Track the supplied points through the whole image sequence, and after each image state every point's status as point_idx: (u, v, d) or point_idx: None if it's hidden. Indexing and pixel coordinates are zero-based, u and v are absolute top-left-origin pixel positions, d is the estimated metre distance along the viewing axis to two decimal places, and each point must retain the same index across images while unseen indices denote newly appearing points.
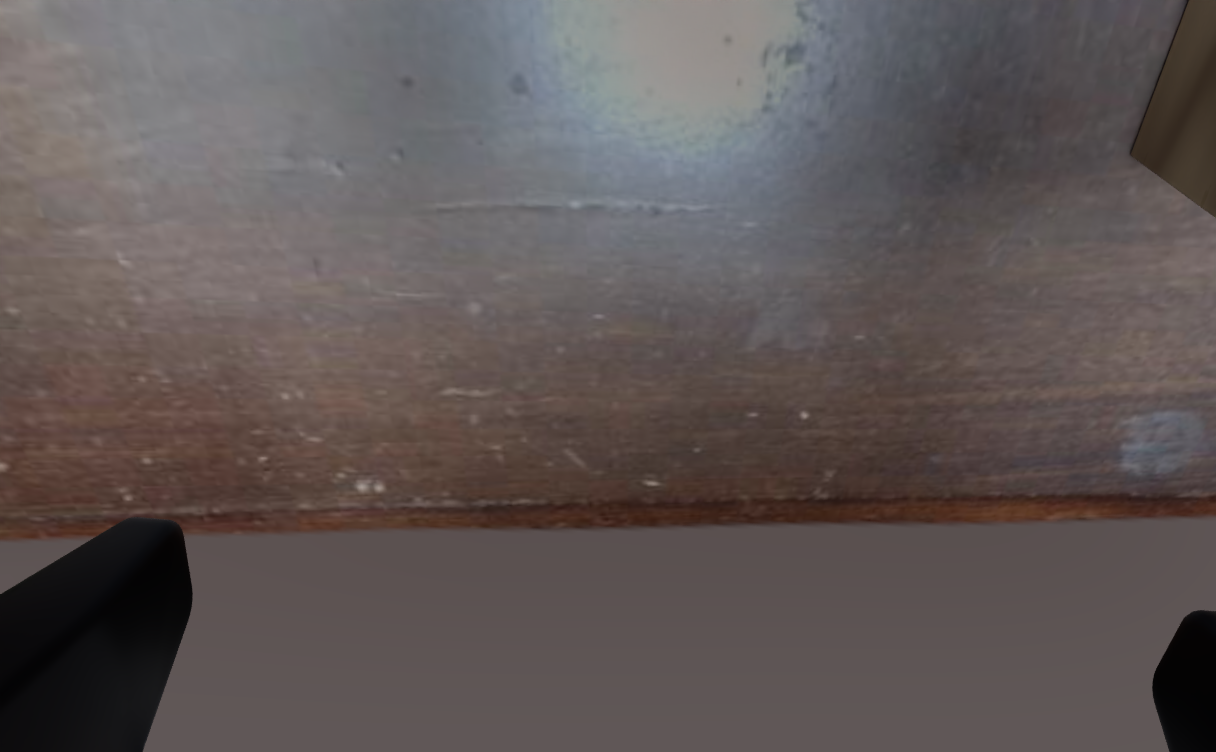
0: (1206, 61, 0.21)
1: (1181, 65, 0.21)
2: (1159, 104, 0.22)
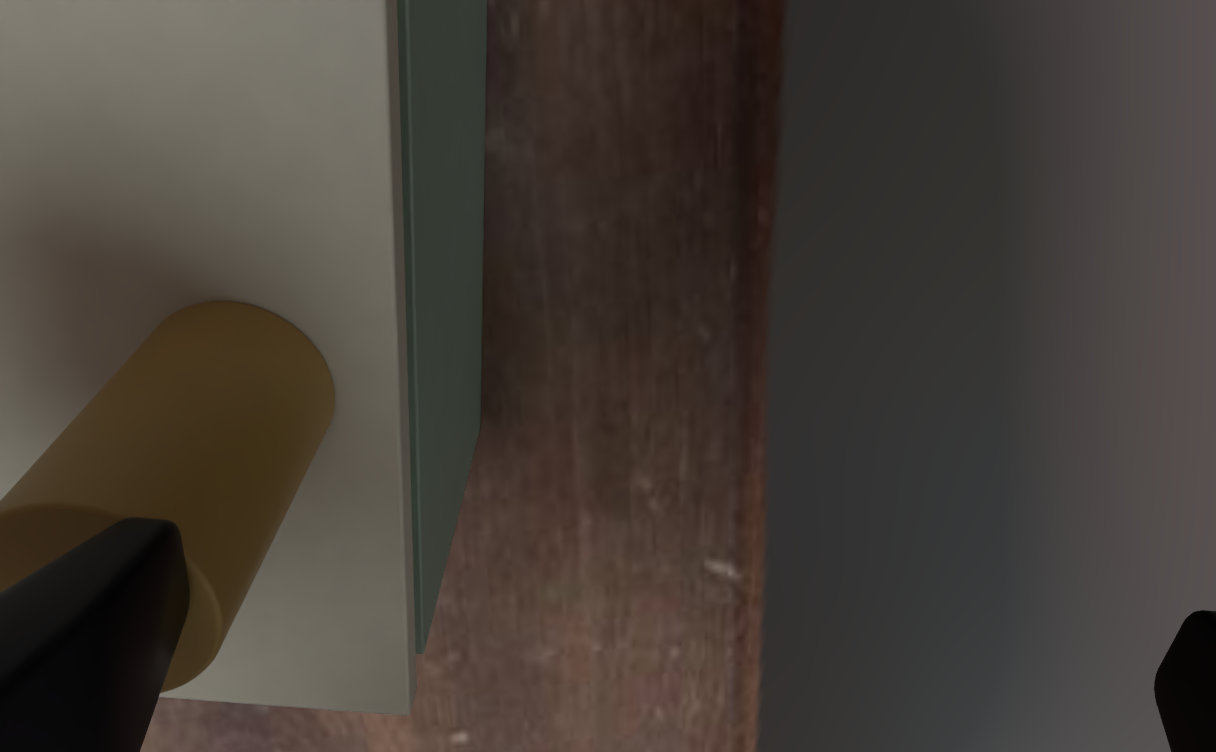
0: None
1: None
2: None
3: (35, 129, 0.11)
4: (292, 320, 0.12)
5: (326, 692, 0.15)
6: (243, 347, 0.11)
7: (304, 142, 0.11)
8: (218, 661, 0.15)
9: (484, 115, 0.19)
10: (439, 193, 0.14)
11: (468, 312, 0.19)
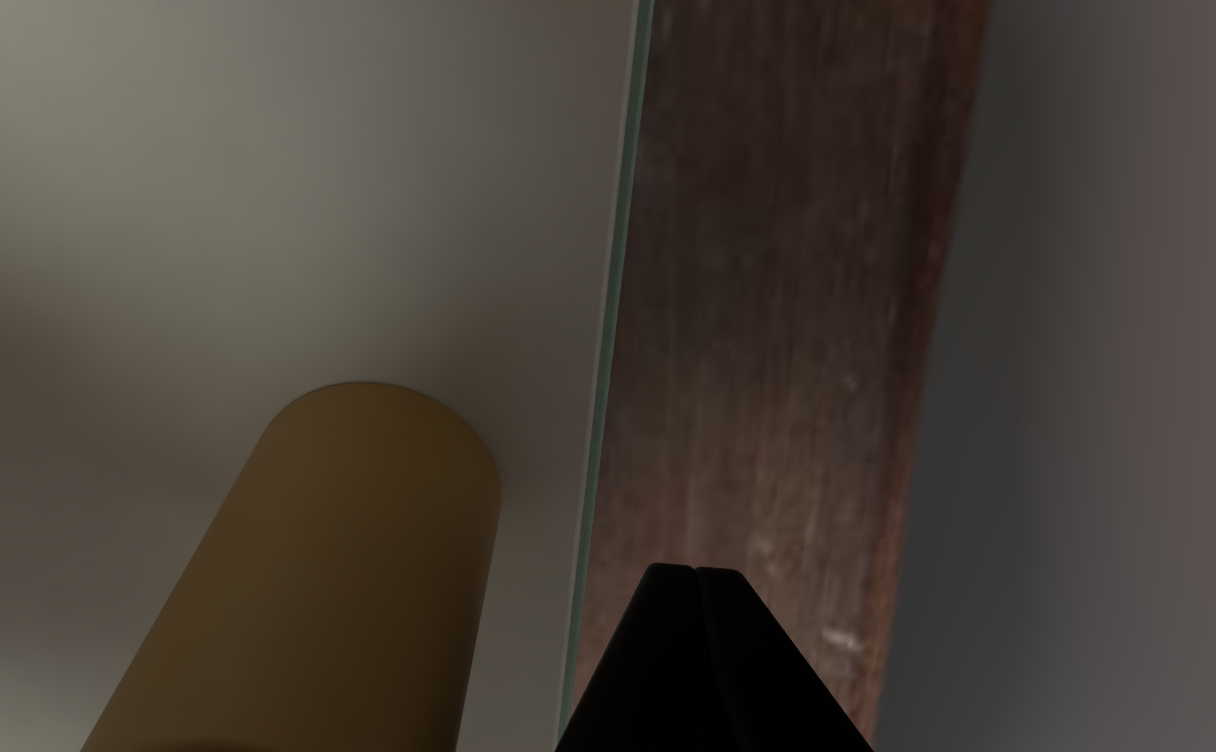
0: None
1: None
2: None
3: (135, 156, 0.08)
4: (456, 407, 0.09)
5: None
6: (408, 453, 0.08)
7: (502, 181, 0.08)
8: None
9: None
10: None
11: None
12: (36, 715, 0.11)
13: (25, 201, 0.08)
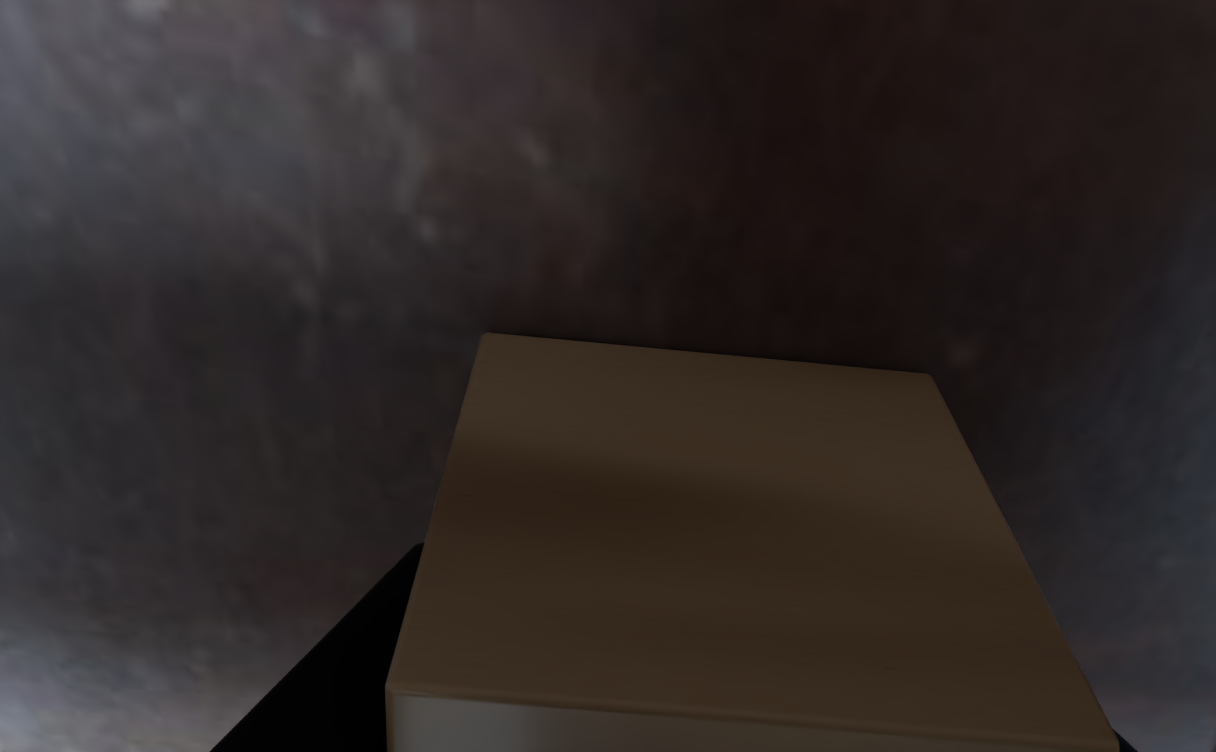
0: None
1: None
2: None
3: None
4: None
5: None
6: None
7: None
8: None
9: None
10: None
11: None
12: None
13: None
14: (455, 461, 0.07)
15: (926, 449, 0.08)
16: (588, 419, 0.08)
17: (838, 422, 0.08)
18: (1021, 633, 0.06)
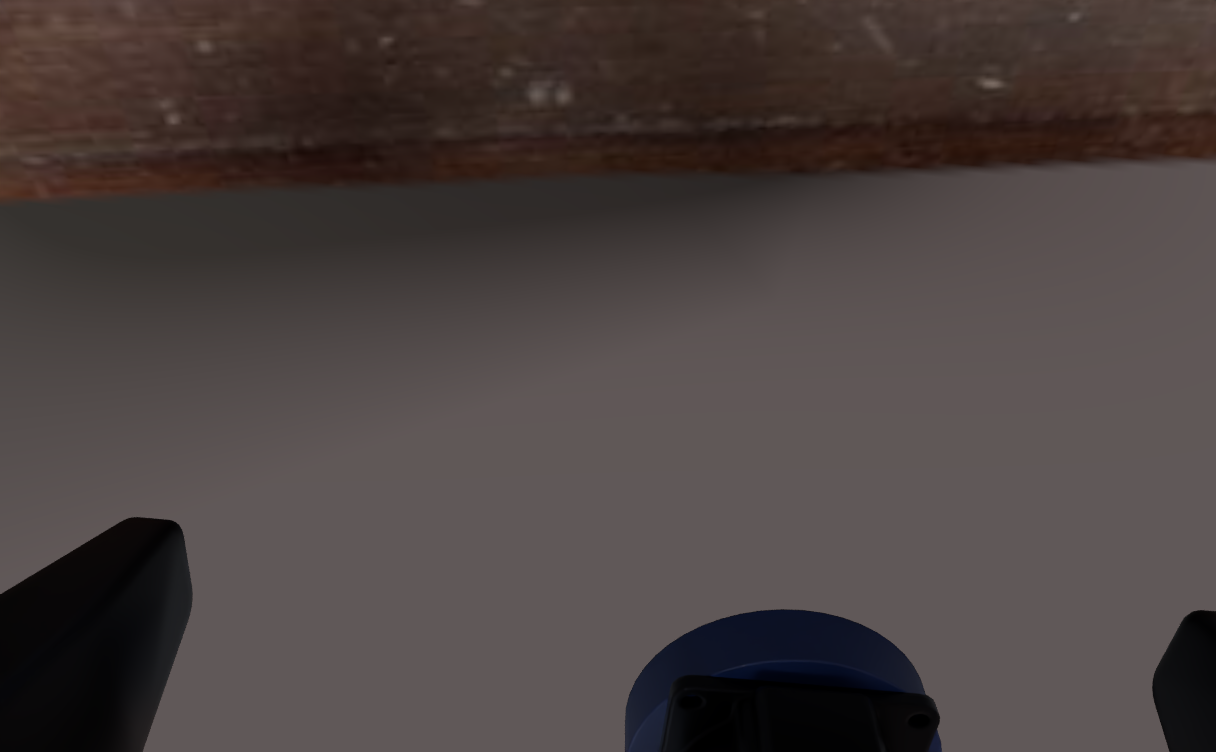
0: None
1: None
2: None
3: None
4: None
5: None
6: None
7: None
8: None
9: None
10: None
11: None
12: None
13: None
14: None
15: None
16: None
17: None
18: None
